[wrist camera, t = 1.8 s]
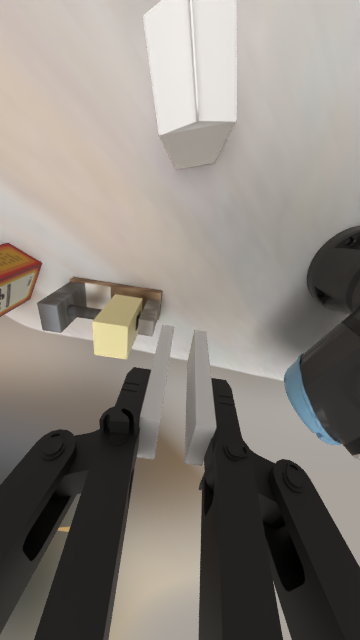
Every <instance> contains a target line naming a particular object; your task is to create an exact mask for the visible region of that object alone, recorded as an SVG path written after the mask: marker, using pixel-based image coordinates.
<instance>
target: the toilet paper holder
mask: <svg viewBox="0 0 360 640" xmlns="http://www.w3.org/2000/svg"><path fill="white" fill-rule="evenodd" d="M115 294H117V295H124V296H130V297H136V298H143V299H142V313H141V315H137V317H136V326H138V334H139V335H146V336H153V332H154V329H155V326H156V322H157V320H159V315H160V307H161V298H162V291H159V290H153V289H147V288H140V287H134V286H128V285H121V284H115V283H109V282H102V281H96V280H90V279H83V278H77V277H73V278H71V279H70V282H69V283H67V284H66V285H64V286H63V287H61V288H60V289H58V290H57V291H55V292H54V293H52V294H50V295H49V296H47V297H46V298H44V299H43V300H41V301H40V302H38V303H37V305H38V310H39V314H40V319H41V324H42V329H43V330H45V331H52V332H59V333H61V332H62V331H63V330H64V329H65V328H66V327H67V326H68V325H69V324H70V323H71V322H72V321H73V320H74V319H75V318H76V317H80V318H87V319H93V320H94V319H95V317H96V316H97V315H98V314H99V313H100V312H101V310H102V309H103V308H104V307H105V306H106V304H107V303H108V302H109V301H110V300H111V299H112V297H113V296H114V295H115Z"/></svg>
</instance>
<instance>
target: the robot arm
mask: <svg viewBox="0 0 360 640" xmlns="http://www.w3.org/2000/svg"><path fill="white" fill-rule="evenodd" d="M307 285H308V289H309V292H310V294H311V295H312V297H313V298H314V299H315V300H316V301H318V302H319V303H320V304H321V305H323V306H324V307H326V308H328V309H331V310H334V311H339V312H343V313H348V314H351V315H350V316H348V317H347V318H346V319H345V320H344V321H342V322H341V323H340V324H339V325H338V326H336V327H335V328H334V329H333V330H332V331H331V332H329V333H328V334H327V335H326V336H325V337H323V338H322V339H321V340H320V341H319V342H318V343H316V344H315V345H314V346H313V347H312V348H311V349H309V350H308V351H307V352H306V353H305V354H301V355H300V356H299V358H298V360H297V361H296V362H295V363H294V364H293V365H291V366H290V367H289V368H288V369H287V371H286V373H285V375H284V383H285V390H286V393H287V396H288V398H289V400H290V402H291V404H292V406H293V408H294V409H295V411H296V413H297V414H298V416H299V417H300V418H301V420H302V421H303V422H304V424H305V425H306V426H307V427H308V428H309V429H310V430H311V431H312V432H313V433H316V435H317V436H318V438H319V439H321V440H322V441H324V442H325V443H327V444H331V445H340V444H343V445H344V446H345V447H346V449H347V450H348V451H349V452H350V454H352V456H353V457H354V458H356V459H359V460H360V226H357V227H353V228H350V229H348V230H345V231H343V232H341V233H339V234H338V235H336V236H335V237H333V238H332V239H331V240H329V241H328V242H327V243H326V244H325V245H324V246H323V247H322V248H321V249H320V250H319V251H318V253H317V254H316V256H315V257H314V259H313V261H312V263H311V265H310V267H309V271H308V275H307ZM173 331H174V327H172V326H166V325H162V328H161V332H160V337H159V341H158V345H157V349H156V353H155V357H154V361H153V365H152V369H151V370H149V369H142V368H136V367H134V368H133V369H132V370H131V371H130V372H129V373H128V374H127V376H126V378H125V381H124V384H123V386H122V389H121V392H120V395H119V397H118V400H117V402H116V405H115V407H112V408H109V409H108V410H107V411H106V412H104V413H103V415H102V416H101V418H100V429H99V430H97V431H95V432H92V433H87V434H82V435H76V436H74V435H73V434H72V433H71V432H69V431H68V430H61V429H60V430H56V431H52V432H50V433H48V434H46V435H44V436H43V437H42V438H41V439H40V440H38V442H36V444H35V445H34V446H33V447H32V448H31V449H30V451H29V452H28V453H27V454H26V455H25V457H24V458H23V459H22V460H21V461H20V463H19V464H18V465H17V466H16V467H15V468H14V470H13V471H12V472H11V473H10V474H9V476H8V477H7V478H6V479H5V480H4V482H3V483H2V484H1V485H0V634H1V632H2V630H3V628H4V626H5V624H6V622H7V621H8V619H9V617H10V615H11V613H12V612H13V610H14V608H15V606H16V604H17V603H18V601H19V599H20V597H21V595H22V593H23V591H24V590H25V588H26V586H27V584H28V582H29V580H30V579H31V577H32V575H33V573H34V571H35V570H36V568H37V566H38V564H39V562H40V561H41V558H42V557H43V555H44V553H45V551H46V550H47V548H48V546H49V544H50V542H51V540H52V539H53V537H54V535H55V533H56V531H57V530H58V528H59V526H60V524H61V522H62V520H63V518H64V517H65V515H66V513H67V511H68V509H69V508H70V506H71V504H72V502H73V500H74V498H75V497H76V495H77V494H79V493H81V496H80V499H79V502H78V505H77V508H76V511H75V515H74V518H73V521H72V524H71V527H70V530H69V533H68V536H67V539H66V542H65V545H64V549H63V552H62V555H61V558H60V561H59V564H58V567H57V570H56V574H55V577H54V580H53V583H52V586H51V589H50V592H49V595H48V598H47V601H46V604H45V608H44V611H43V614H42V617H41V620H40V623H39V626H38V629H37V632H36V635H35V639H34V640H108V638H109V632H110V625H111V619H112V612H113V606H114V599H115V593H116V586H117V580H118V573H119V566H120V559H121V554H122V547H123V541H124V534H125V528H126V521H127V514H128V508H129V502H130V495H131V489H132V481H133V476H134V466H135V461H136V457H141V458H149V459H154V457H155V450H156V444H157V438H158V432H159V426H160V419H161V413H162V405H163V399H164V392H165V385H166V378H167V372H168V364H169V358H170V351H171V344H172V337H173ZM186 399H187V400H186V434H185V463H186V464H193V465H201V466H202V464H203V461H204V465H205V472H204V475H203V477H202V480H201V483H200V486H199V490H202V516H201V559H200V560H201V561H200V603H199V604H200V605H199V640H283V637H282V631H281V625H280V619H279V614H278V608H277V602H276V596H275V590H274V585H275V588H276V591H277V594H278V597H279V600H280V604H281V607H282V610H283V613H284V616H285V620H286V623H287V626H288V629H289V632H290V635H291V638H292V640H360V567H359V565H358V564H357V562H356V560H355V558H354V556H353V555H352V553H351V551H350V549H349V548H348V546H347V544H346V542H345V540H344V539H343V537H342V535H341V533H340V532H339V530H338V528H337V526H336V524H335V523H334V521H333V519H332V517H331V516H330V514H329V512H328V510H327V508H326V507H325V505H324V503H323V501H322V499H321V498H320V496H319V494H318V492H317V491H316V489H315V487H314V485H313V484H312V482H311V480H310V478H309V477H308V475H307V474H306V473H305V471H304V470H303V469H302V468H301V467H300V466H298V465H297V464H296V463H294V462H292V461H290V460H284V459H282V460H279V461H277V462H276V464H275V463H273V462H271V461H269V460H267V459H265V458H263V457H261V456H259V455H257V454H255V453H254V452H253V451H251V450H250V449H249V447H248V446H247V444H246V443H245V442H244V441H243V439H242V436H241V432H240V427H239V423H238V418H237V413H236V408H235V404H234V399H233V394H232V389H231V387H230V386H229V384H228V383H227V381H226V380H221V379H214V378H211V372H210V363H209V353H208V344H207V335H206V332H205V331H199V330H194V335H193V339H192V344H191V348H190V353H189V358H188V363H187V397H186ZM273 582H274V584H273Z"/></svg>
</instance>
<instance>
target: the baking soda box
mask: <svg viewBox="0 0 360 640" xmlns="http://www.w3.org/2000/svg"><path fill="white" fill-rule="evenodd" d="M41 265H42V263H41V262H40V261H38V260H36V259H35V258H33V257H31V256H29V255H28V254H26V253H24V252H23V251H21V250H19V249H17V248H16V247H14V246H12V245H11V244H9V243H6V244H2V245H0V317H1V316H2V315H4V314H6V313H8V312H9V311H11V310H13V309H14V308H16V307H18V306H19V305H21V304H23V303H24V302H26V301H28V300H29V299H30V298H31V295H32V292H33V289H34V286H35V283H36V280H37V277H38V274H39V271H40V268H41Z"/></svg>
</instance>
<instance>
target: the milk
mask: <svg viewBox="0 0 360 640" xmlns="http://www.w3.org/2000/svg"><path fill="white" fill-rule="evenodd" d="M143 23H144V30H145V38H146V45H147V52H148V60H149V67H150V75H151V82H152V89H153V97H154V104H155V111H156V119H157V126H158V133H159V137H160V139H161V141H162V143H163V145H164V147H165V149H166V151H167V153H168V155H169V157H170V159H171V161H172V163H173V165H174V167H175V169H176V170H177V169H183V168H189V167H195V166H201V165H207V164H213V163H214V162H215V160H216V158H217V157H218V155H219V153H220V151H221V149H222V147H223V145H224V144H225V142H226V140H227V138H228V136H229V134H230V132H231V131H232V129H233V127H234V125H235V123H236V121H237V0H161V1H160V2H159V3H158V4H156V5H155V6H154V7H153V8H152V9H150V10H149V11H148V12H147V13H146V14H144V16H143Z"/></svg>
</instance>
